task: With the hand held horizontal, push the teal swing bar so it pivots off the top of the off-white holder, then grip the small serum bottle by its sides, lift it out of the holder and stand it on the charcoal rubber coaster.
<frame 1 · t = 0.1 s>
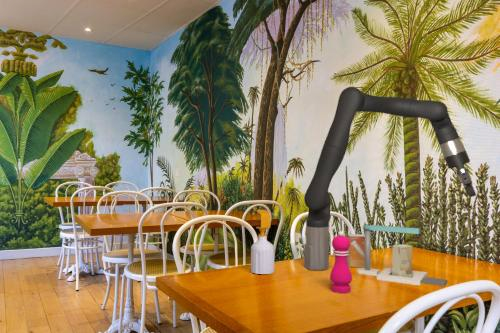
hand: (472, 195, 152), 31 cm above the table, tool tilted 20°, fingers open, 8 cm apart
pepper mill: (341, 291, 143), on the table
swing bar: (390, 228, 162), point 18 cm above the table, hinge at 0.0°
soap bottle: (262, 272, 168), on the table
holder: (402, 277, 160), on the table
small box: (357, 266, 179), on the table
coaster: (435, 282, 154), on the table
skincare box: (402, 278, 160), resting in holder
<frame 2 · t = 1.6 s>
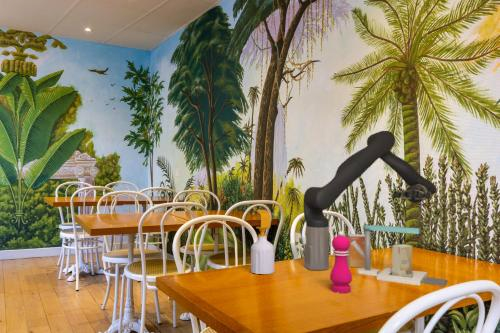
hand: (408, 195, 169), 30 cm above the table, tool horizontal, fingers open, 8 cm apart
nothing on the table moved.
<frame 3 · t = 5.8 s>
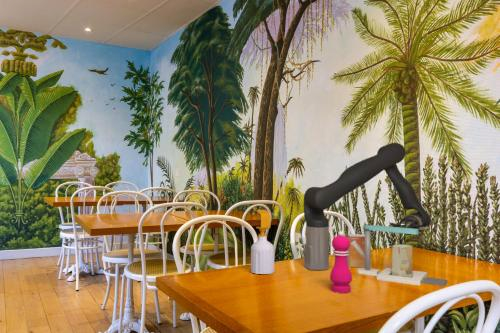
hand: (402, 230, 159), 18 cm above the table, tool horizontal, fingers closed
swing bar: (389, 229, 161), point 18 cm above the table, hinge at 6.5°, touching gripper
everything else where it was.
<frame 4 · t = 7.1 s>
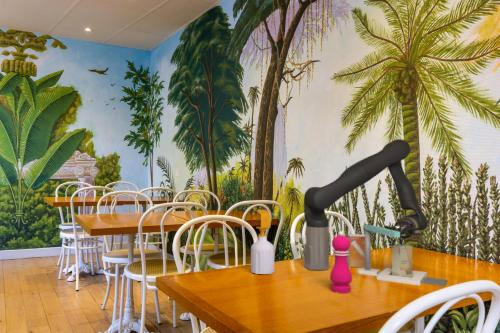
hand: (396, 233, 151), 18 cm above the table, tool horizontal, fingers closed
swing bar: (380, 230, 158), point 18 cm above the table, hinge at 42.4°, touching gripper
everything else where it was.
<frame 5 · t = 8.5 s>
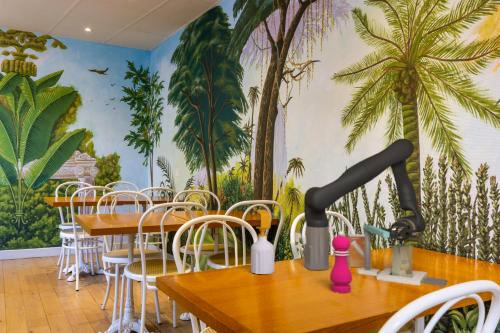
hand: (392, 235, 146), 18 cm above the table, tool horizontal, fingers closed
swing bar: (375, 230, 158), point 18 cm above the table, hinge at 54.5°, touching gripper
everything else where it was.
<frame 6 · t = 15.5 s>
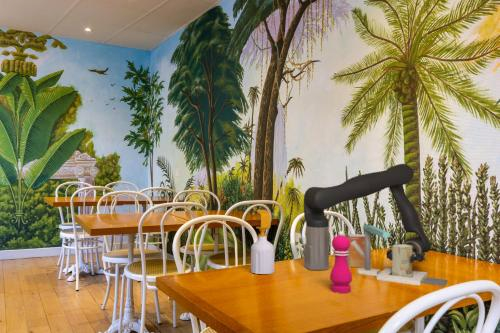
hand: (400, 258, 158), 8 cm above the table, tool horizontal, fingers closed on skincare box, 6 cm apart
swing bar: (375, 230, 158), point 18 cm above the table, hinge at 55.0°
skincare box: (402, 278, 160), resting in holder, touching gripper
everything else where it was.
when the fingers open (9 cm above the table, at t = 19.2 s): skincare box stays where it is, resting on coaster.
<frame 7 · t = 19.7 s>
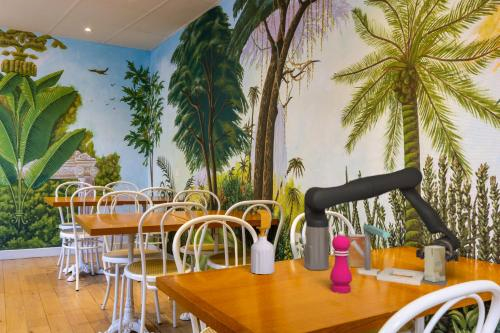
hand: (434, 258, 152), 9 cm above the table, tool horizontal, fingers open, 8 cm apart
skincare box: (435, 280, 154), resting on coaster
everything else where it was.
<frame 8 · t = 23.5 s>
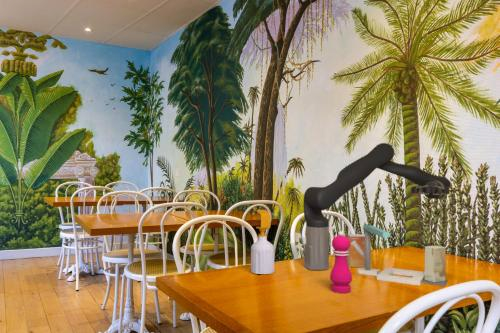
hand: (427, 191, 169), 32 cm above the table, tool horizontal, fingers open, 8 cm apart
nothing on the table moved.
at the end: skincare box inside the target area on the coaster (0.1 cm from its centre), point 0.4 cm above the coaster's base; skincare box tilted 0°; swing bar at +55° (first picture: +0°) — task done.
